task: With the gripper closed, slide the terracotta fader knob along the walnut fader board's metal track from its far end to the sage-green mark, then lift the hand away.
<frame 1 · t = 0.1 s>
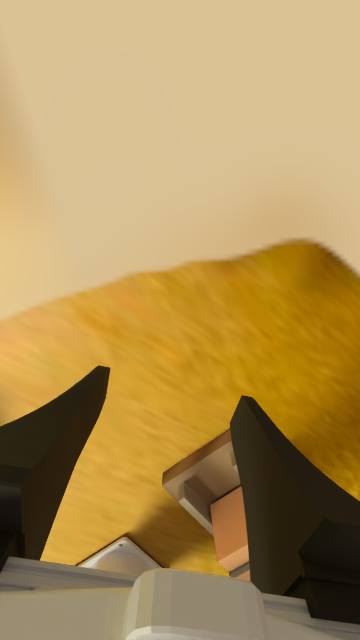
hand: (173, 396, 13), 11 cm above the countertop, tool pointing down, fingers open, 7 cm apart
fader board: (269, 525, 30), on the countertop
fader knob: (246, 531, 24), point 4 cm above the countertop, slide at 0.0 cm
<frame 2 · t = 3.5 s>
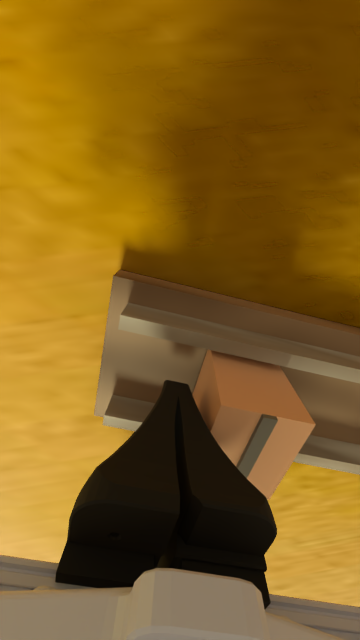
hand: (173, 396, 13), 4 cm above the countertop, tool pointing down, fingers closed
fader board: (305, 385, 18), on the countertop
fader knob: (237, 416, 13), point 4 cm above the countertop, slide at 1.0 cm, touching gripper
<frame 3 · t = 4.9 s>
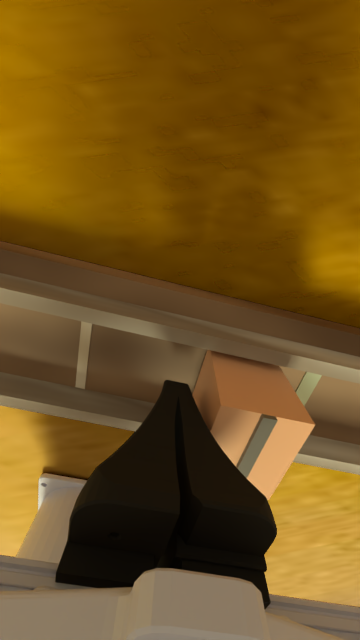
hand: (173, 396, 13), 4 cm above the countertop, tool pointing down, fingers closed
fader board: (195, 361, 17), on the countertop
fader knob: (236, 416, 13), point 4 cm above the countertop, slide at 9.1 cm, touching gripper
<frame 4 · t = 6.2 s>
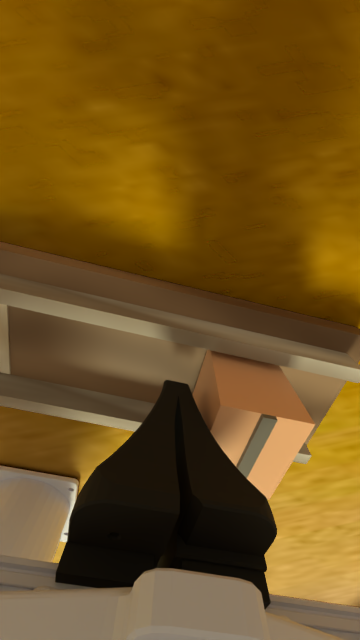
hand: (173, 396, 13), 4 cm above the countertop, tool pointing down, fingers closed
fader board: (126, 346, 17), on the countertop
fader knob: (236, 416, 13), point 4 cm above the countertop, slide at 13.9 cm, touching gripper
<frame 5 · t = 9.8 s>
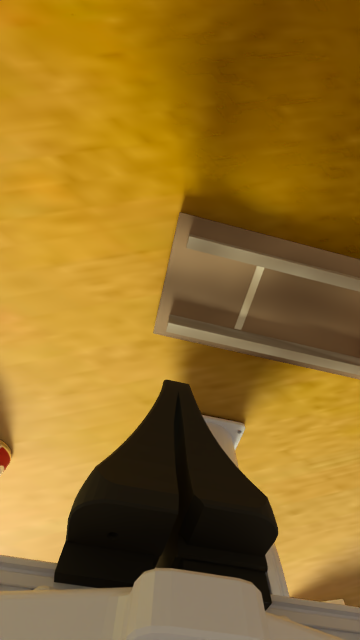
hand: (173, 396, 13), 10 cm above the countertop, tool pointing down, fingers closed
fader board: (319, 311, 22), on the countertop
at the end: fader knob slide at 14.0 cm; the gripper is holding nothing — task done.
